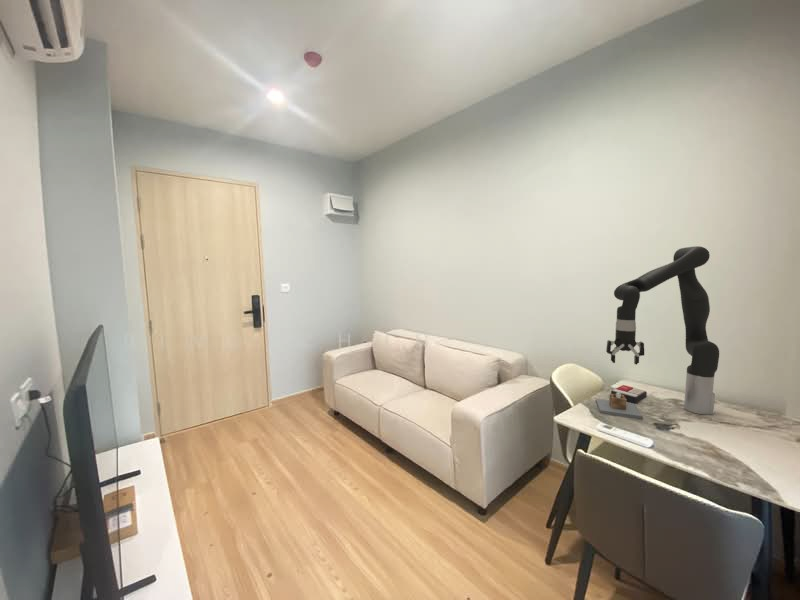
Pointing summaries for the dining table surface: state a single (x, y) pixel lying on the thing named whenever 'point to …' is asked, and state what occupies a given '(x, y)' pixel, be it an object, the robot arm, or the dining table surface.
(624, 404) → the brown boxy piece
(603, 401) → the board
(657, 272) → the robot arm
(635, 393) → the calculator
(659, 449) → the dining table surface
